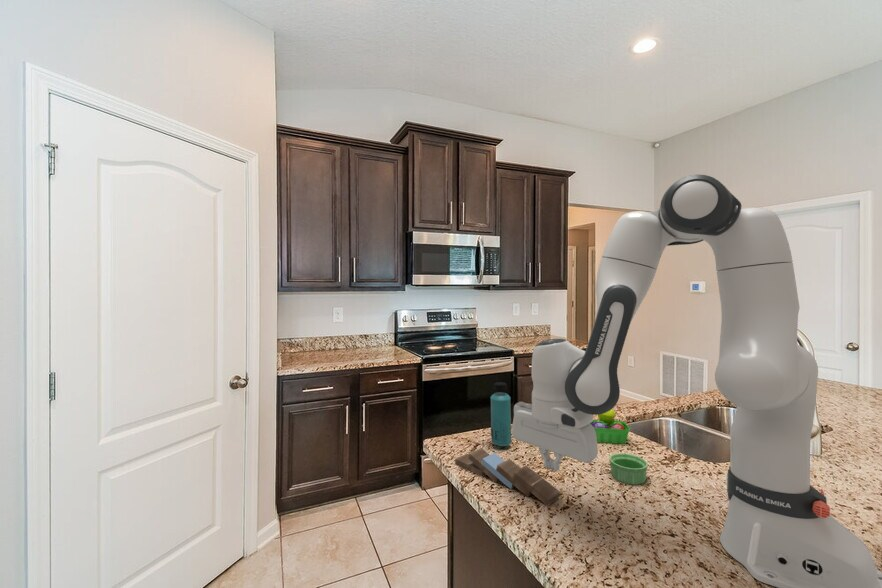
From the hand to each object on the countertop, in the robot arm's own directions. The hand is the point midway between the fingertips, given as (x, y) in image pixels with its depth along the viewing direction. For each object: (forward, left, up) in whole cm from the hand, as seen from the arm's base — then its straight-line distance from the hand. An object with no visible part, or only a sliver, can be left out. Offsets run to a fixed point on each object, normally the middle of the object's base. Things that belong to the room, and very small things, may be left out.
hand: (551, 468), depth 88 cm
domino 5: (0, 0, -7) cm, 7 cm away
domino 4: (+5, 0, -7) cm, 8 cm away
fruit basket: (+6, -45, -8) cm, 46 cm away
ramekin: (-8, -24, -8) cm, 27 cm away
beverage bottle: (+27, -16, -8) cm, 32 cm away
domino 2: (+14, 0, -7) cm, 16 cm away
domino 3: (+10, 0, -7) cm, 12 cm away
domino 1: (+19, 0, -7) cm, 20 cm away
